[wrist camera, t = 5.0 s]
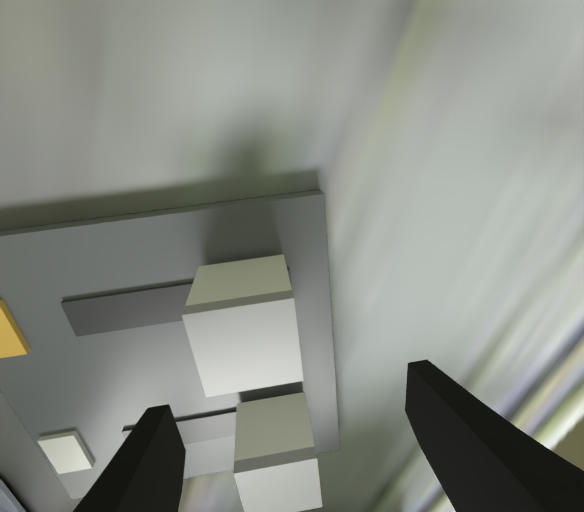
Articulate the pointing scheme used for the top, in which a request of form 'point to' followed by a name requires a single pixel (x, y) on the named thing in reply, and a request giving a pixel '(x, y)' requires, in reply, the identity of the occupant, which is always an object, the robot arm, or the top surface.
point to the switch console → (149, 328)
